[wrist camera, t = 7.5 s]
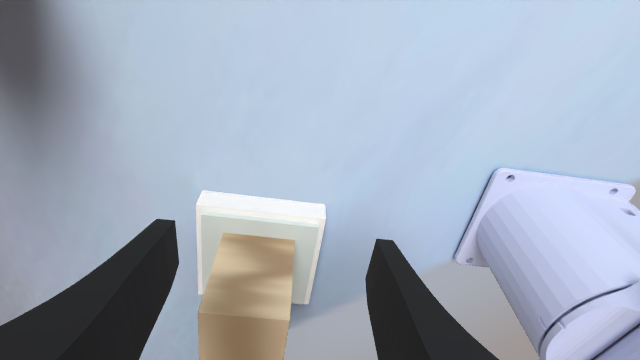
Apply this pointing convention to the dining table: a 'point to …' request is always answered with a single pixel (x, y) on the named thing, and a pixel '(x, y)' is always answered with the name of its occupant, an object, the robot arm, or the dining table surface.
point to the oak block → (247, 299)
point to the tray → (261, 232)
